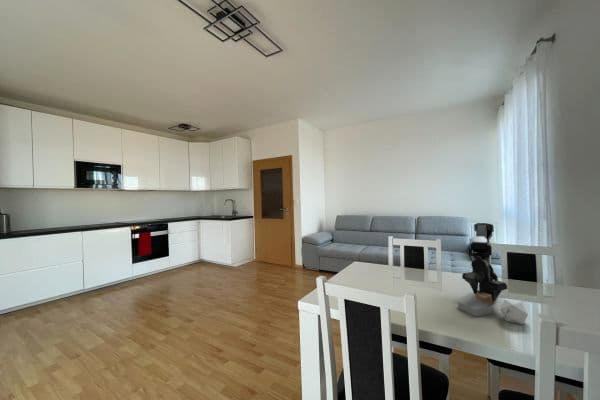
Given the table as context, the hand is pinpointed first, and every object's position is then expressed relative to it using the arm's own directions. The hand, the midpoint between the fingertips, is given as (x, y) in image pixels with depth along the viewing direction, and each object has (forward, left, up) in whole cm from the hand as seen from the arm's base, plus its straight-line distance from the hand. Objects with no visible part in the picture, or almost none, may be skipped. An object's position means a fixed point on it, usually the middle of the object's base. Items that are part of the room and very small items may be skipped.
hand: (484, 297), depth 114 cm
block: (0, 0, -2) cm, 2 cm away
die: (+5, +17, -2) cm, 18 cm away
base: (+12, +5, -2) cm, 13 cm away
